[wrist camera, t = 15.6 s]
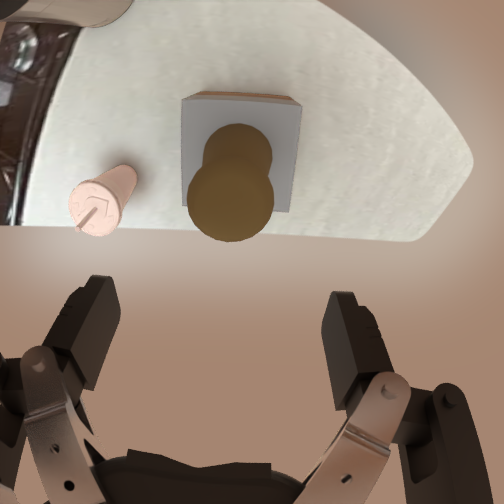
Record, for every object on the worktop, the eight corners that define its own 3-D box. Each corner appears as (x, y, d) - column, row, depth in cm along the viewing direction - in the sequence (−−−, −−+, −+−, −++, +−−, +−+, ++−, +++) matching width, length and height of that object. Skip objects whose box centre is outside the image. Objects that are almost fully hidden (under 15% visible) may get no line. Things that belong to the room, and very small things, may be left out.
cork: (249, 110, 24) (246, 137, 15) (285, 168, 27) (303, 228, 17) (189, 147, 25) (152, 196, 16) (227, 200, 28) (214, 273, 19)
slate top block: (192, 94, 27) (181, 99, 23) (294, 100, 28) (302, 106, 23) (191, 186, 33) (182, 206, 29) (284, 192, 33) (288, 212, 29)
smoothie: (155, 187, 38) (115, 246, 26) (119, 207, 40) (72, 268, 28) (131, 145, 35) (76, 188, 23) (95, 169, 36) (37, 218, 25)
